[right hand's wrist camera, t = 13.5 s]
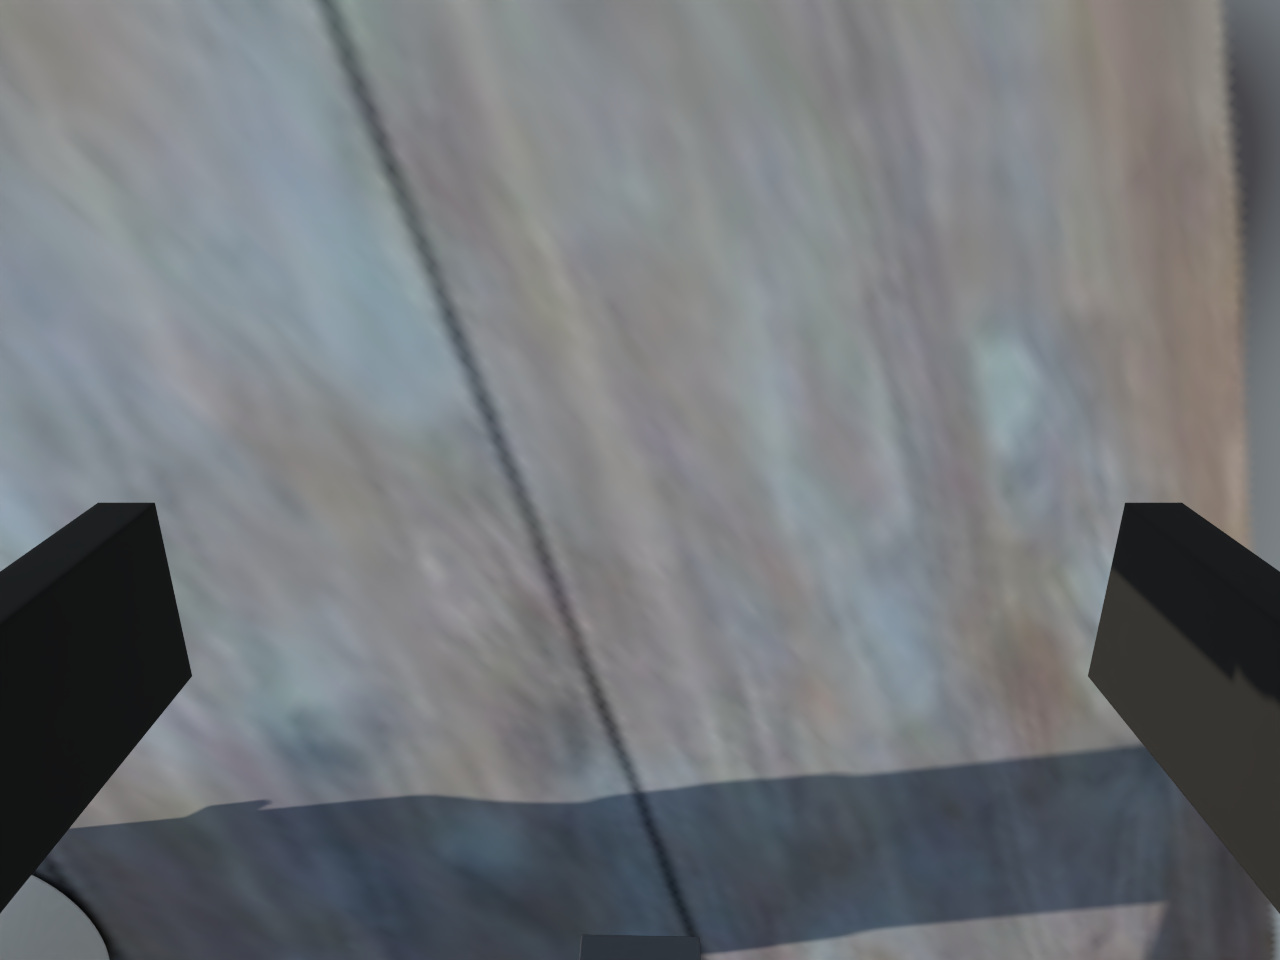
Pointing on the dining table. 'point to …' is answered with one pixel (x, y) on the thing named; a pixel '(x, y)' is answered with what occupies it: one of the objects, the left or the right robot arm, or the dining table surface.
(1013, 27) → the dining table surface
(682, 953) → the bar
